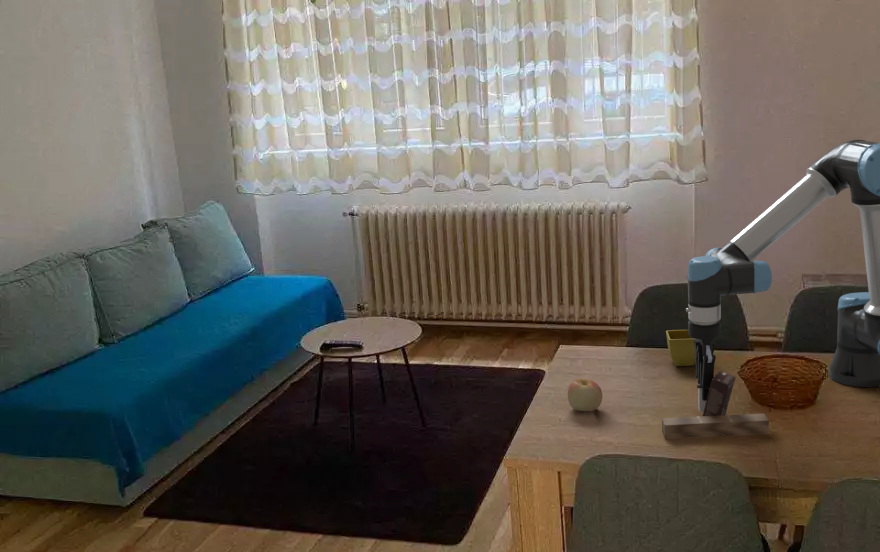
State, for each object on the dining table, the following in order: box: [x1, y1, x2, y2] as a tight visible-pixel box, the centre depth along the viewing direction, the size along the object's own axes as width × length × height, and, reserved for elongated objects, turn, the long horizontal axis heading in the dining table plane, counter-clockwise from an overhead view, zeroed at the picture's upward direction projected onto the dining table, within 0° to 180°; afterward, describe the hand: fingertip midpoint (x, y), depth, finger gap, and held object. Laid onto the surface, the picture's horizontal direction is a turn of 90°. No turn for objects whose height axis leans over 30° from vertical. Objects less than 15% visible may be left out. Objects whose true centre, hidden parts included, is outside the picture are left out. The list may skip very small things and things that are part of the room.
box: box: [702, 371, 736, 416], centre depth 210 cm, size 6×4×12 cm
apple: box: [567, 378, 603, 412], centre depth 224 cm, size 9×9×8 cm
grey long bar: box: [661, 413, 770, 440], centre depth 206 cm, size 24×4×4 cm, turn 86°
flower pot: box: [665, 329, 697, 367], centre depth 250 cm, size 9×9×9 cm
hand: (704, 410), depth 216 cm, fingers closed
